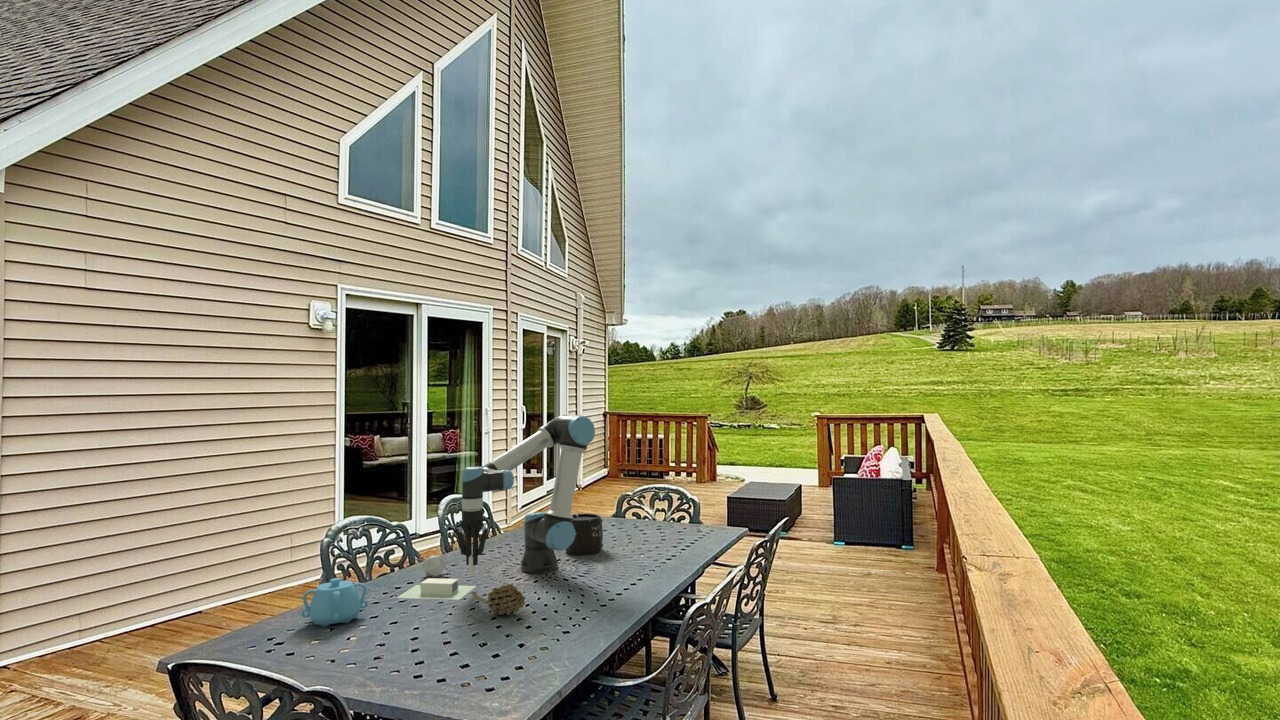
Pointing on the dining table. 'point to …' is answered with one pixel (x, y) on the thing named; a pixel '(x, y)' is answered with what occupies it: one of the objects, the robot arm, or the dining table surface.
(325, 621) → the decorative pot
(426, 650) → the dining table surface
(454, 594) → the green mat
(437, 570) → the die
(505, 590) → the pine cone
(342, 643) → the dining table surface
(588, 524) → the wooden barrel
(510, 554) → the dining table surface
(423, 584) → the beige rectangular block
